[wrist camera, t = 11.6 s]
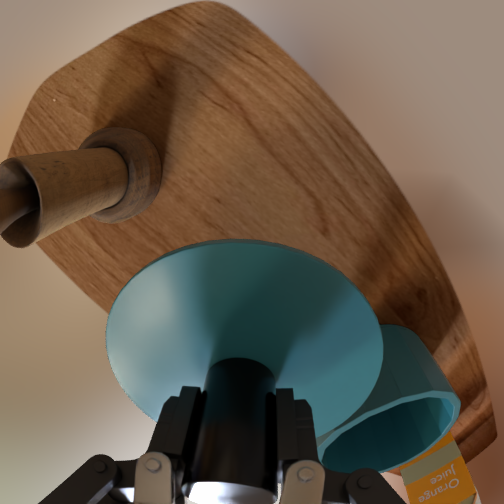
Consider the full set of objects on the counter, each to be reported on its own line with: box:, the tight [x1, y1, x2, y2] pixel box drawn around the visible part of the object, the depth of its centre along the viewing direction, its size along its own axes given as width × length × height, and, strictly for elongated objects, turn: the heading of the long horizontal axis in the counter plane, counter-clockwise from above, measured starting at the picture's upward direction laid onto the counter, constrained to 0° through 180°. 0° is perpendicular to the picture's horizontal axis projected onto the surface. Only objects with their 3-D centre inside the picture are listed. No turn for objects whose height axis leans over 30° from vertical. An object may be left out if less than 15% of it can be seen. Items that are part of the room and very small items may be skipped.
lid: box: [106, 239, 383, 504], centre depth 10 cm, size 13×13×7 cm
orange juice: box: [399, 430, 477, 504], centre depth 20 cm, size 8×9×20 cm
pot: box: [316, 324, 461, 473], centre depth 21 cm, size 13×13×8 cm
